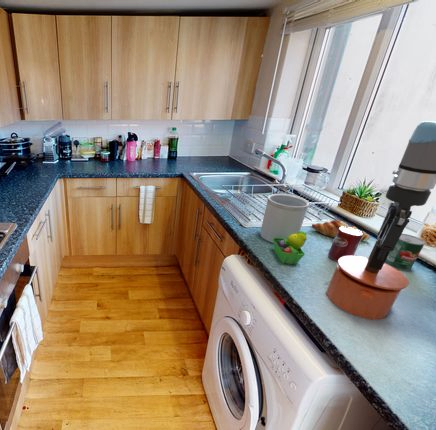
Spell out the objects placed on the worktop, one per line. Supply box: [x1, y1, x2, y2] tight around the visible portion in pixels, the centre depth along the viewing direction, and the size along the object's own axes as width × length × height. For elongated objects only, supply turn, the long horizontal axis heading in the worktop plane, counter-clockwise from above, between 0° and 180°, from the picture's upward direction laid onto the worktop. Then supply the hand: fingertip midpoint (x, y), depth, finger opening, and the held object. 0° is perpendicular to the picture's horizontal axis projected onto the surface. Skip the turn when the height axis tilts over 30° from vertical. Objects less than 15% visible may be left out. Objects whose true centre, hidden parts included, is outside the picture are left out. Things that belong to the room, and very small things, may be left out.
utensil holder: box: [259, 193, 310, 244], centre depth 119 cm, size 15×15×18 cm
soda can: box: [327, 227, 363, 263], centre depth 106 cm, size 7×7×12 cm
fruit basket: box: [273, 230, 308, 265], centre depth 106 cm, size 11×9×11 cm
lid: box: [336, 238, 409, 291], centre depth 80 cm, size 16×16×11 cm
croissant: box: [311, 219, 372, 241], centre depth 124 cm, size 21×10×8 cm, turn 65°
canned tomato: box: [385, 233, 426, 272], centre depth 103 cm, size 8×8×11 cm
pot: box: [326, 264, 403, 321], centre depth 85 cm, size 15×20×10 cm
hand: (374, 264), depth 81 cm, fingers closed on lid, 3 cm apart
